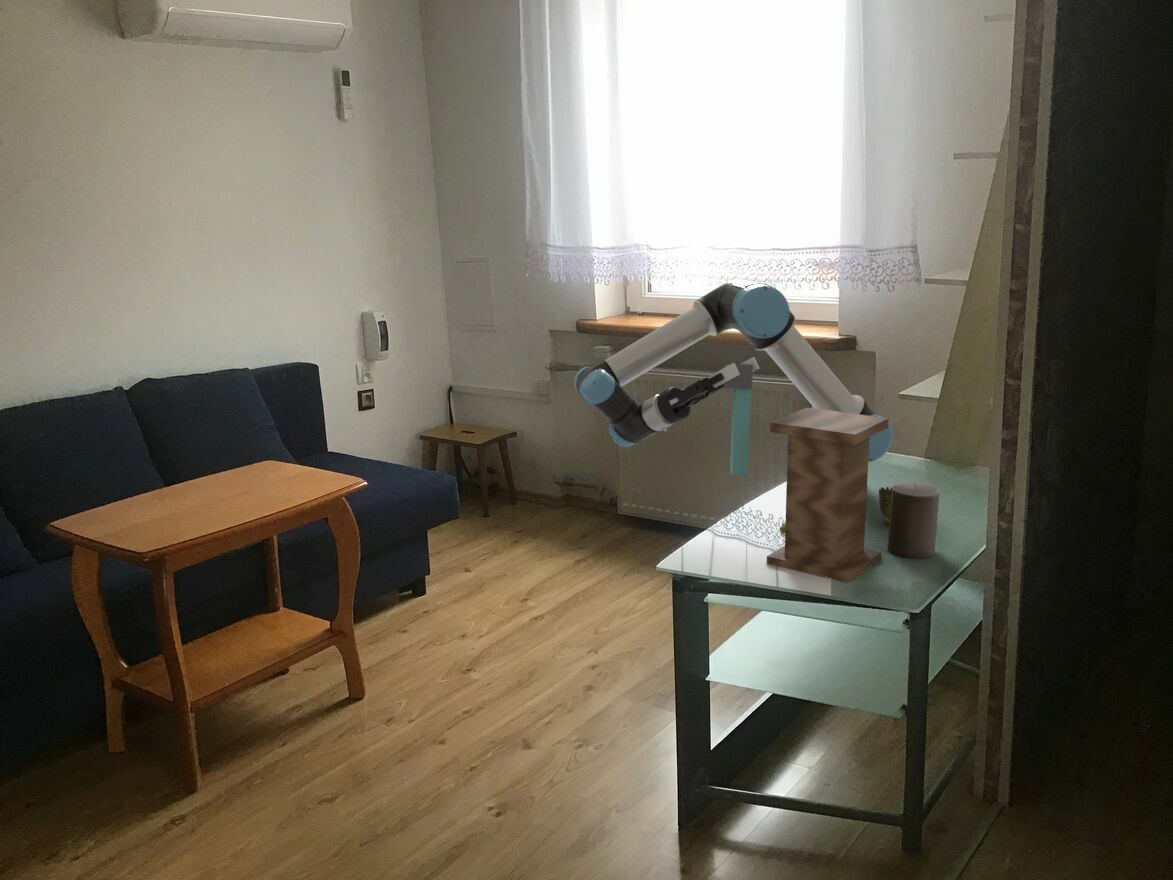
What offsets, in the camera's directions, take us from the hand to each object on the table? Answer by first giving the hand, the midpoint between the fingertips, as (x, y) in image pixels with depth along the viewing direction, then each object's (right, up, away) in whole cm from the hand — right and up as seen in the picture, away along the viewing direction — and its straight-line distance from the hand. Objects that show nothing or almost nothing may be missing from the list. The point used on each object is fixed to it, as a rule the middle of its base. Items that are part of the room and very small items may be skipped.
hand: (746, 365), depth 219 cm
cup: (+37, -35, +20) cm, 55 cm away
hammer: (+1, -11, +2) cm, 11 cm away
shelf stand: (+16, -41, -1) cm, 44 cm away
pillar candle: (+36, -39, +4) cm, 53 cm away
